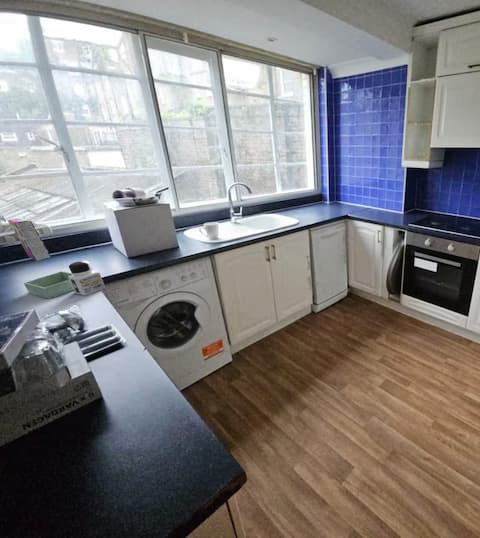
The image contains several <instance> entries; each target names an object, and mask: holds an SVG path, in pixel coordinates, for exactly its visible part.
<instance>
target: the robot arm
mask: <svg viewBox="0 0 480 538" xmlns="http://www.w3.org/2000/svg"><path fill="white" fill-rule="evenodd" d="M31 222H32V221H31ZM32 223H33V225H34V227H35V229H36V231H37V232H38V234H39V236H40V237H43V236H47V235H52V234H53V229H52V227H51V226H50V225H48V224H43V223H37V222H35V221H33V222H32ZM6 244H7V245H20V244H21V242H20V239H19V237H18V236H16V234H15V232H14V231H13V229H12V227H11V226H10V224H9V222H7V220H6V218H5V217H4V216H3V215H2V214H1V213H0V246H1V245H6Z"/></svg>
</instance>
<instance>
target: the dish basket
mask: <svg viewBox="0 0 480 538" xmlns="http://www.w3.org/2000/svg"><path fill="white" fill-rule="evenodd" d="M71 275H72V273H71V272H67V271H63V270H62V271H58V272H55V273H51V274H48V275H44V276H42V277H38V278H36V279H32V280H29V281H25V282H23V285H24V287H25V288H26V290H27V292H28V294H31V295H35V296H38V297H40V298H41V297H42V298H46V299H48V300H50V299H52V298H56V297H58V296H59V297H60V296H61V295H64V294H66V293H69V292H73V291H74V290H73V287H72V285H71V283H70V281H69V279H68V276H71Z"/></svg>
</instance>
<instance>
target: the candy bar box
mask: <svg viewBox="0 0 480 538" xmlns="http://www.w3.org/2000/svg"><path fill="white" fill-rule="evenodd" d="M6 222H7V223H9V224H10V226H11V227H12V229H13V231H14V232H15V234H16V236H18V237H19V239H20V242H21V243H20V244H21V246H22V248H23V249H24V251H25V252H26V254H27V256H28V257H29V258H31V259H32V260H34V261H35V262H39V261H40V262H41V261H44V260H47V259H51V258H52V256H51V254H50V252H49V250H48V249H47V246H46V245H45V243H44V241H43V240H42V238H41V236H39V234H38V232H37V231H36V229H35V227H34V225H33V223H32V220H30V219H28V218H27V217H25V216H22V217H16V218H11V219H7V220H6Z"/></svg>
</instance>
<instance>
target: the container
mask: <svg viewBox="0 0 480 538" xmlns="http://www.w3.org/2000/svg"><path fill="white" fill-rule="evenodd" d="M68 269H69V271H70V273H72V275H71V276H68V279H69V281H70V283H71V285H72V287H73V290H72V291H73V292H74V293H75V294H79V295H83V296H88V295H90V294H93V293H95V292H98V291H101V290H103V289H105V288H106V285H105V283H104V280H103V278H102V276H101V274H100V271H96V270H93V268H92V265H91V263H90V261H88V260H79V261H75V262H71V263H70V264H69V265H68Z"/></svg>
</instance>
